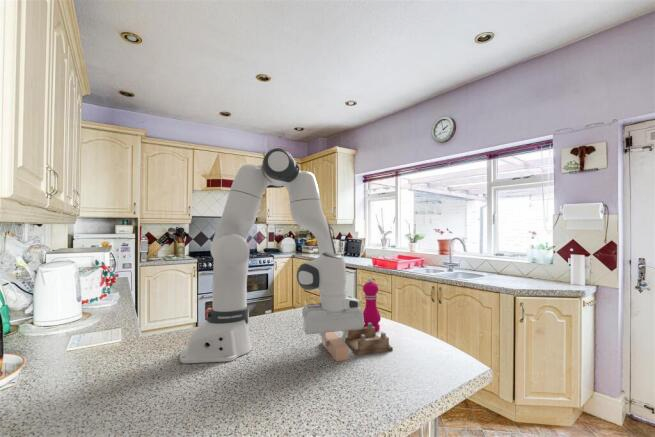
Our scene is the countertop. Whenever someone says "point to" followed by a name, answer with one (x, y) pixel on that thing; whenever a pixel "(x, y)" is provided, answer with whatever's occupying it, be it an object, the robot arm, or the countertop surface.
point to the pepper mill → (371, 305)
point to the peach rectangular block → (336, 347)
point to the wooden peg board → (367, 341)
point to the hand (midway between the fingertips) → (334, 344)
